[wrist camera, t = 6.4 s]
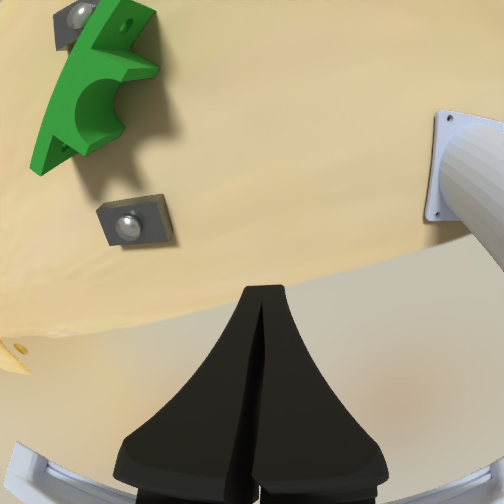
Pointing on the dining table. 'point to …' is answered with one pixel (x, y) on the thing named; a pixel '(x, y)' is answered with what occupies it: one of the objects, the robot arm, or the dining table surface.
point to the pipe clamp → (93, 85)
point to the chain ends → (129, 210)
